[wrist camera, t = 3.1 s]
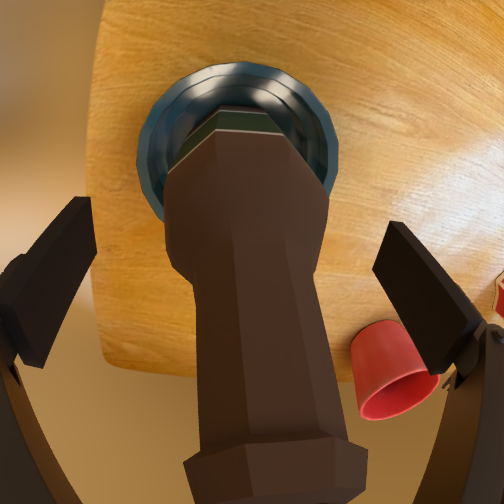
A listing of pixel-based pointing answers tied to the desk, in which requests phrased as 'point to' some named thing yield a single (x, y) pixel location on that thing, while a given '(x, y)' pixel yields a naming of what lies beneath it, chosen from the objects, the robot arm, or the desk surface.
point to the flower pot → (388, 371)
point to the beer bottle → (257, 317)
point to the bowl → (235, 93)
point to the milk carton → (499, 296)
